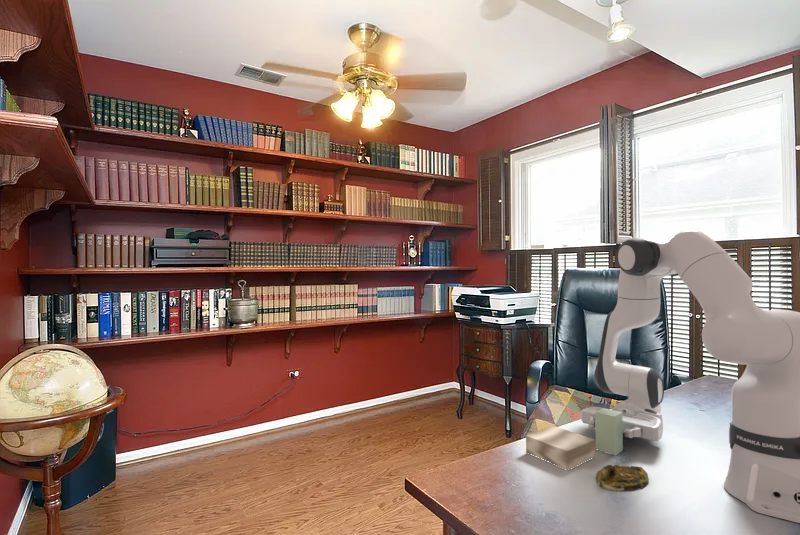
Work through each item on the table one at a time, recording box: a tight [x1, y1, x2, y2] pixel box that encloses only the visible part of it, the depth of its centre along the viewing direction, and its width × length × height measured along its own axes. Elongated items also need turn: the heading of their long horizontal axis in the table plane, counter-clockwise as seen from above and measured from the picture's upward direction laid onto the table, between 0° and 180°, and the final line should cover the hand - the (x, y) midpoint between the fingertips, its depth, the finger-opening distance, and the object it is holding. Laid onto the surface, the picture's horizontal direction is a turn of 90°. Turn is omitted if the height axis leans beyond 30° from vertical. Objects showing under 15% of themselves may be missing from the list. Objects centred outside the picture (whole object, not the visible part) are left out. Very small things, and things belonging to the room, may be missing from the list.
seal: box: [595, 464, 650, 492], centre depth 97 cm, size 9×5×15 cm
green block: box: [594, 407, 624, 456], centre depth 113 cm, size 5×5×10 cm
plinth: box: [525, 425, 596, 471], centre depth 109 cm, size 12×12×5 cm
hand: (608, 429), depth 113 cm, fingers open, 8 cm apart
